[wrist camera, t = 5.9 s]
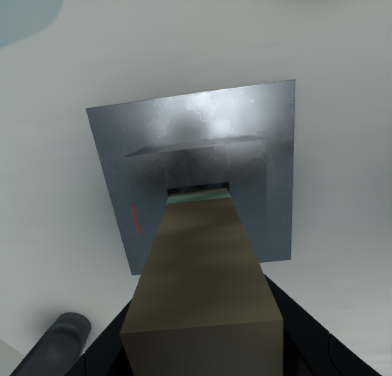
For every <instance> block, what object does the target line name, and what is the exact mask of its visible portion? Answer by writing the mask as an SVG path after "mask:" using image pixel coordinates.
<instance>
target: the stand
mask: <svg viewBox="0 0 392 376" xmlns="http://www.w3.org/2000/svg"><path fill="white" fill-rule="evenodd" d="M86 111H87V115H88V118H89V122H90V126H91V129H92V133H93V136H94V140H95V144H96V147H97V151H98V154H99V158H100V162H101V165H102V169H103V172H104V176H105V180H106V183H107V187H108V190H109V194H110V198H111V201H112V205H113V208H114V212H115V216H116V219H117V223H118V226H119V230H120V234H121V237H122V241H123V244H124V248H125V252H126V255H127V259H128V262H129V266H130V270H131V273H132V275H140V274H142V271H143V268H144V266H145V263H146V260H147V257H148V255H149V252H150V249H151V247H152V244H153V241H154V238H155V236H156V233H157V230H158V228H159V225H160V222H161V219H162V217H163V214H164V211H165V209H166V206H167V205H166V203H167V200H168V198H169V197H170V195H171V194H179V193H187V192H196V191H204V190H213V189H221V188H226V189H227V190H228V191H229V193H230V195H231V200H232V203H233V205H234V207H235V209H236V212H237V214H238V216H239V219H240V221H241V223H242V226H243V228H244V230H245V232H246V235H247V237H248V239H249V242H250V244H251V246H252V249H253V251H254V253H255V255H256V258H257V260H258V262H259V263H261V262H271V261H281V260H291V229H292V190H293V151H294V112H295V79H294V80H287V81H280V82H273V83H265V84H258V85H251V86H244V87H237V88H229V89H222V90H215V91H208V92H201V93H194V94H186V95H179V96H172V97H165V98H158V99H151V100H143V101H136V102H129V103H122V104H115V105H108V106H100V107H93V108H86Z"/></svg>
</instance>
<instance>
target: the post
mask: <svg viewBox="0 0 392 376" xmlns="http://www.w3.org/2000/svg"><path fill="white" fill-rule="evenodd" d="M166 205H167V206H166V209H165V211H164V214H163V217H162V219H161V222H160V225H159V228H158V230H157V233H156V236H155V238H154V241H153V244H152V247H151V249H150V252H149V255H148V257H147V260H146V263H145V266H144V268H143V271H142V274H141V276H140V279H139V282H138V285H137V287H136V290H135V293H134V295H133V298H132V301H131V304H130V306H129V309H128V312H127V314H126V317H125V320H124V323H123V325H122V328H121V331H120V333H119V334H120V337H121V340H122V343H123V346H124V349H125V352H126V355H127V357H128V360H129V363H130V366H131V369H132V372H133V375H134V376H283V318H282V315H281V313H280V311H279V308H278V306H277V304H276V301H275V299H274V297H273V295H272V292H271V290H270V288H269V285H268V283H267V281H266V278H265V276H264V274H263V272H262V269H261V267H260V265H259V262H258V260H257V258H256V255H255V253H254V251H253V249H252V246H251V244H250V242H249V239H248V237H247V235H246V232H245V230H244V228H243V226H242V223H241V221H240V219H239V216H238V214H237V212H236V209H235V207H234V205H233V203H232V200H231V195H230V193H229V191H228V190H227V189H226V188H221V189H213V190H204V191H196V192H187V193H179V194H171V195H170V197H169V198H168V200H167V203H166Z"/></svg>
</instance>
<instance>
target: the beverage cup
mask: <svg viewBox="0 0 392 376" xmlns="http://www.w3.org/2000/svg"><path fill="white" fill-rule="evenodd" d="M90 330H91V324H90V322H89V321H88V320H87V319H86V318H85V317H84V316H82V315H80V314H77V313H65V314H62V315H61V316H60V317H59V318H58V319H57V320H56V322H55V323H54V324H53V325H52V326H51V327H50V328H49V329H48V330H47V331H46V332H45V334H44V335H43V336H42V337H41V338H40V340H39V341H38V342H37V343H36V344H35V346H34V347H33V348H32V349H31V350H30V352H29V353H28V354H27V355H26V357H25V358H24V359H23V360H22V361H21V363H20V364H19V365H18V366H17V367H16V369H15V370H14V371H13V372H12V373H11V375H10V376H63V375H64V374H65V373H66V372H67V371H68V370H69V369H70V368H71V367H72V365H73V364H74V363H75V362H76V361H77V360H78V359H79V358H80V356H81V353H82V351H83V348H84V346H85V344H86V340H87V338H88V335H89V332H90Z"/></svg>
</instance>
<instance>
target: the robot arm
mask: <svg viewBox="0 0 392 376" xmlns="http://www.w3.org/2000/svg"><path fill="white" fill-rule="evenodd" d="M263 274H264V273H263ZM264 276H265V278H266V281H267V283H268V285H269V288H270V290H271V292H272V295H273V297H274V299H275V301H276V304H277V306H278V308H279V311H280V313H281V315H282V318H283V376H382V375H380V374H379V373H378V372H376V371H375V370H374V369H373V368H371V367H370V366H369V365H368V364H366V363H365V362H364V361H363V360H361V359H360V358H359V357H358V356H357V355H355V354H354V353H353V352H352V351H351V350H350V349H348V348H347V347H346V346H345V345H344V344H343V343H341V342H340V341H339V340H338V339H337V338H336V337H335V336H333V335H332V334H329V331H328V330H327V329H325V328H324V327H323V326H322V325H321V324H320V323H319V322H318V321H316V320H315V319H314V318H313V317H312V316H311V315H310V314H309V313H307V312H306V311H305V310H304V309H303V308H302V307H301V306H300V305H298V304H297V303H296V302H295V301H294V300H293V299H292V298H291V297H289V296H288V295H287V294H286V293H285V292H284V291H283V290H282V289H280V288H279V287H278V286H277V285H276V284H275V283H274V282H273V281H271V280H270V279H269V278H268V277H267V276H266V275H265V274H264ZM131 301H132V299H131V300H130V302H129V303H128V304H127V305H126V306H125V307H124V308H123V309H122V311H121V312H120V313H119V314H118V315H117V316H116V317H115V318H114V320H113V321H112V322H111V323H110V324H109V325H108V326H107V327H106V329H105V330H104V331H103V332H102V333H101V334H100V335H99V336H98V338H97V339H96V340H95V341H94V342H93V343H92V344H91V345H90V347H89V348H88V349H87V350H86V351H85V353H84V354H82V355H81V357H80V358H79V359H78V360H77V361H76V362H75V363H74V364H73V365H72V367H71V368H70V369H69V370H68V371H67V372H66V373H65V374H64V375H63V376H134V375H133V372H132V369H131V366H130V363H129V360H128V357H127V355H126V352H125V349H124V346H123V343H122V340H121V337H120V334H119V333H120V331H121V328H122V325H123V323H124V320H125V317H126V314H127V312H128V309H129V306H130V304H131Z"/></svg>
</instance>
